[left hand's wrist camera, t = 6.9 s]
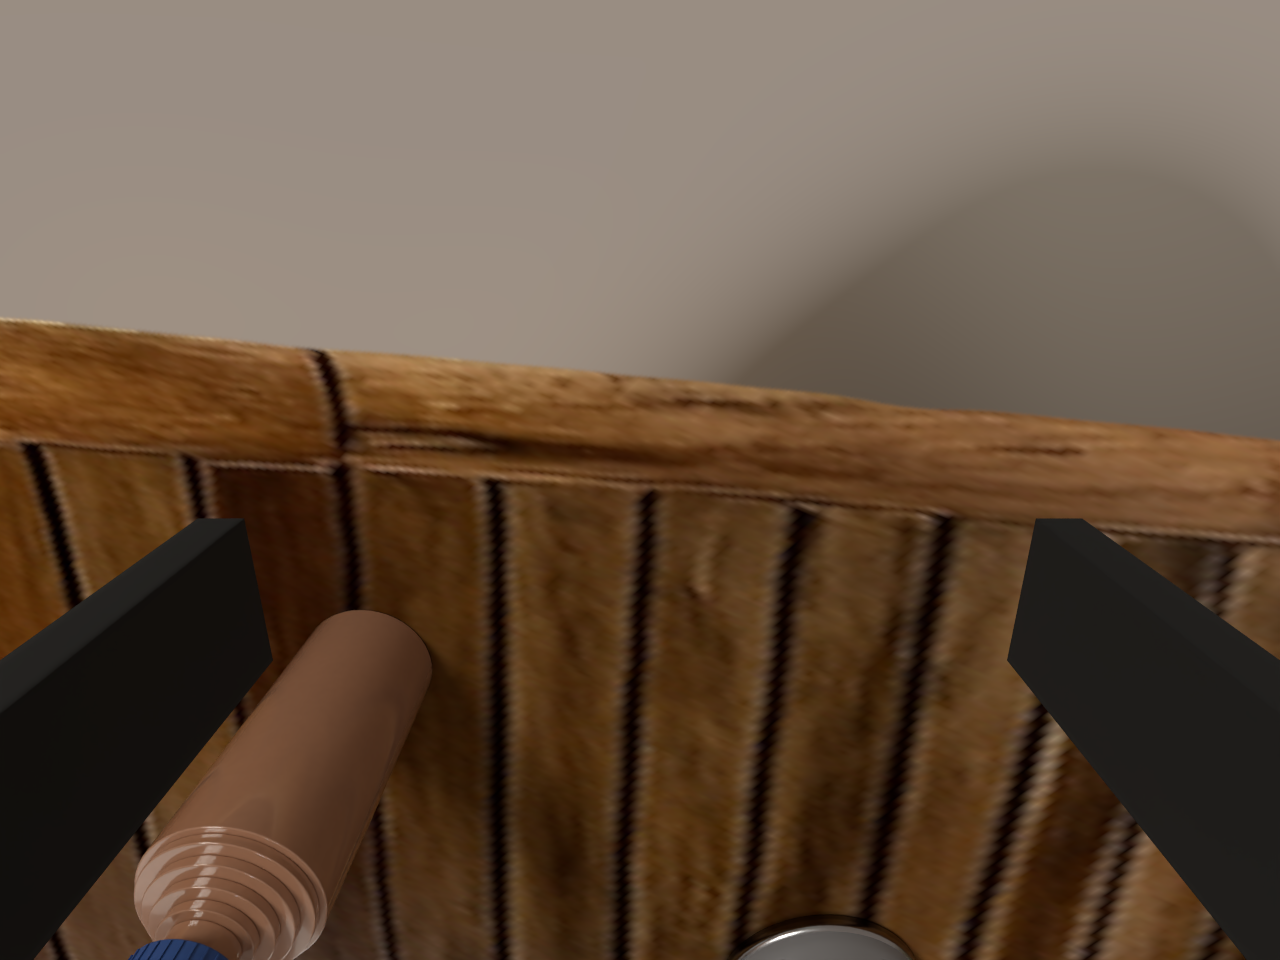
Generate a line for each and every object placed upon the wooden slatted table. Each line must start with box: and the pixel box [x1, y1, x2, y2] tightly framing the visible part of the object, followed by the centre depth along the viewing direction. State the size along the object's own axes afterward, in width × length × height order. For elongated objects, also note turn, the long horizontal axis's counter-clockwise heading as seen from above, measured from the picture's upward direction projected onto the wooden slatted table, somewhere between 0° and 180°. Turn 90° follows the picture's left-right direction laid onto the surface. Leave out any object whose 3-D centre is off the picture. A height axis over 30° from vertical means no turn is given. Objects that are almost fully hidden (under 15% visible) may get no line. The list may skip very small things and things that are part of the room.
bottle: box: [134, 610, 432, 960], centre depth 36 cm, size 8×8×21 cm
